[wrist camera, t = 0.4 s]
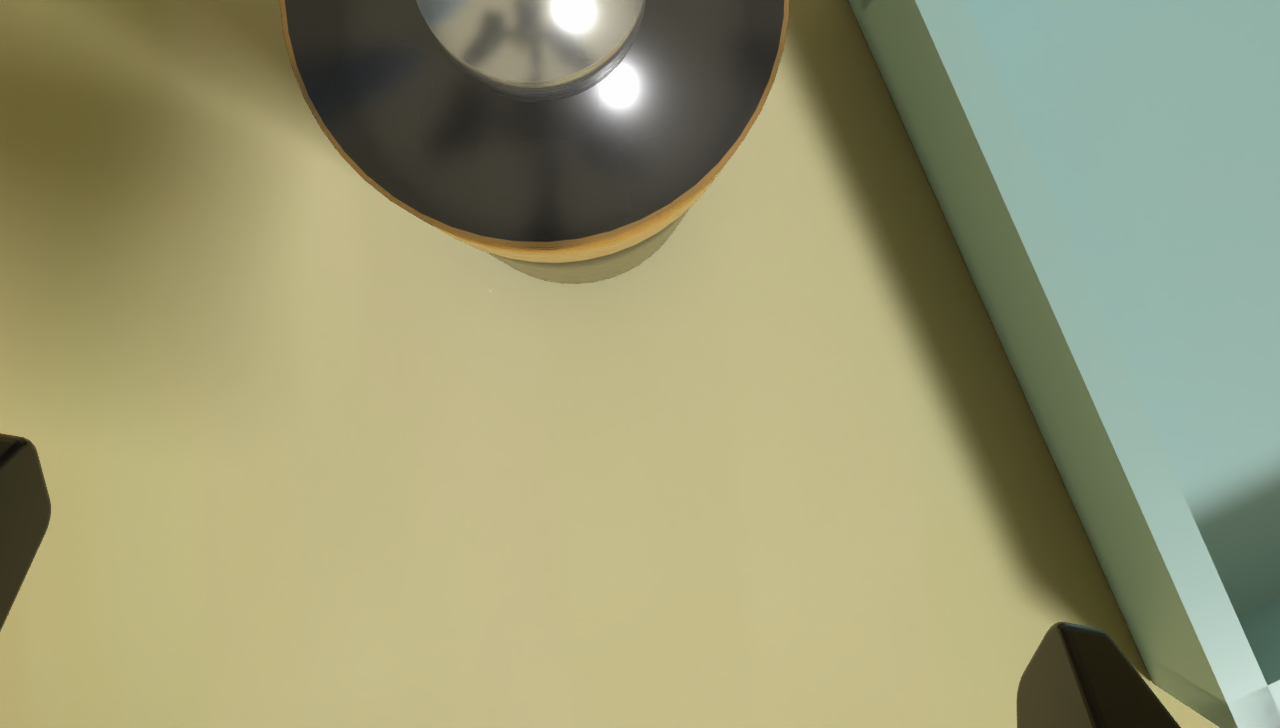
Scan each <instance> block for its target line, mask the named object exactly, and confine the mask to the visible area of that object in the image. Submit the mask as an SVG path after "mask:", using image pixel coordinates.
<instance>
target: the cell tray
mask: <svg viewBox="0 0 1280 728" xmlns="http://www.w3.org/2000/svg"><path fill="white" fill-rule="evenodd" d="M848 2H849V4H850V6H851V9H852V11H853V13H854V15H855V18H856V20H857V22H858V24H859V26H860V29H861V31H862V33H863V35H864V38H865V40H866V42H867V44H868V47H869V49H870V51H871V53H872V56H873V58H874V60H875V62H876V65H877V67H878V69H879V71H880V73H881V76H882V78H883V80H884V82H885V85H886V87H887V89H888V91H889V94H890V96H891V98H892V100H893V103H894V105H895V107H896V109H897V112H898V114H899V116H900V118H901V120H902V123H903V125H904V127H905V129H906V132H907V134H908V136H909V138H910V141H911V143H912V145H913V147H914V150H915V152H916V154H917V156H918V159H919V161H920V163H921V165H922V167H923V170H924V172H925V174H926V176H927V179H928V181H929V183H930V185H931V188H932V190H933V192H934V194H935V197H936V199H937V201H938V203H939V206H940V208H941V210H942V212H943V215H944V217H945V219H946V221H947V223H948V226H949V228H950V230H951V232H952V235H953V237H954V239H955V241H956V244H957V246H958V248H959V250H960V253H961V255H962V257H963V259H964V262H965V264H966V266H967V268H968V270H969V273H970V275H971V277H972V279H973V282H974V284H975V286H976V288H977V291H978V293H979V295H980V297H981V300H982V302H983V304H984V306H985V309H986V311H987V313H988V315H989V317H990V320H991V322H992V324H993V326H994V329H995V331H996V333H997V335H998V338H999V340H1000V342H1001V344H1002V347H1003V349H1004V351H1005V353H1006V356H1007V358H1008V360H1009V362H1010V364H1011V367H1012V369H1013V371H1014V373H1015V376H1016V378H1017V380H1018V382H1019V385H1020V387H1021V389H1022V391H1023V394H1024V396H1025V398H1026V400H1027V403H1028V405H1029V407H1030V409H1031V411H1032V414H1033V416H1034V418H1035V420H1036V423H1037V425H1038V427H1039V429H1040V432H1041V434H1042V436H1043V438H1044V441H1045V443H1046V445H1047V447H1048V450H1049V452H1050V454H1051V456H1052V459H1053V461H1054V463H1055V465H1056V467H1057V470H1058V472H1059V474H1060V476H1061V479H1062V481H1063V483H1064V485H1065V488H1066V490H1067V492H1068V494H1069V497H1070V499H1071V501H1072V503H1073V506H1074V508H1075V510H1076V512H1077V514H1078V517H1079V519H1080V521H1081V523H1082V526H1083V528H1084V530H1085V532H1086V535H1087V537H1088V539H1089V541H1090V544H1091V546H1092V548H1093V550H1094V553H1095V555H1096V557H1097V559H1098V561H1099V564H1100V566H1101V568H1102V570H1103V573H1104V575H1105V577H1106V579H1107V582H1108V584H1109V586H1110V588H1111V591H1112V593H1113V595H1114V597H1115V600H1116V602H1117V604H1118V606H1119V608H1120V611H1121V613H1122V615H1123V617H1124V620H1125V622H1126V624H1127V626H1128V629H1129V631H1130V633H1131V635H1132V638H1133V640H1134V642H1135V644H1136V647H1137V649H1138V651H1139V653H1140V655H1141V658H1142V660H1143V662H1144V664H1145V667H1146V669H1147V671H1148V673H1149V676H1150V678H1151V680H1152V682H1153V684H1155V685H1156V686H1158V687H1159V688H1161V689H1162V690H1164V691H1165V692H1167V693H1169V694H1170V695H1172V696H1173V697H1175V698H1176V699H1178V700H1179V701H1181V702H1182V703H1184V704H1185V705H1187V706H1188V707H1190V708H1191V709H1193V710H1194V711H1196V712H1197V713H1199V714H1200V715H1202V716H1203V717H1205V718H1206V719H1208V720H1209V721H1211V722H1213V723H1214V724H1216V725H1217V726H1219V727H1220V728H1280V0H848Z"/></svg>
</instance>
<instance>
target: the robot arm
mask: <svg viewBox="0 0 1280 728" xmlns="http://www.w3.org/2000/svg"><path fill="white" fill-rule="evenodd" d="M50 515H51V503H50V498H49V494H48V490H47V487H46V483H45V479H44V475H43V472H42V468H41V464H40V461H39V457H38V453H37V450H36V448H35V446H34V445H33V444H32V442H31V441H30V440H28V439H26V438H23V437H18V436H12V435H6V434H1V433H0V631H1V629H2V627H3V625H4V622H5V620H6V618H7V616H8V614H9V611H10V609H11V607H12V605H13V603H14V601H15V598H16V596H17V594H18V592H19V590H20V587H21V585H22V583H23V581H24V579H25V576H26V574H27V572H28V570H29V568H30V566H31V563H32V561H33V559H34V557H35V555H36V552H37V550H38V548H39V546H40V544H41V542H42V539H43V537H44V535H45V533H46V530H47V528H48V524H49V521H50ZM1017 728H1181V727H1180V726H1179V725H1178V724H1177V722H1176V721H1175V720H1174V718H1173V717H1172V716H1171V715H1170V713H1169V712H1168V711H1167V709H1166V708H1165V707H1164V706H1163V704H1162V703H1161V702H1160V700H1159V699H1158V698H1157V697H1156V695H1155V694H1154V693H1153V692H1152V690H1151V689H1150V688H1149V686H1148V685H1147V684H1146V683H1145V681H1144V680H1143V679H1142V677H1141V676H1140V675H1139V674H1138V672H1137V671H1136V670H1135V668H1134V667H1133V666H1132V665H1131V663H1130V662H1129V661H1128V659H1127V658H1126V657H1125V656H1124V654H1123V653H1122V652H1121V650H1120V649H1119V648H1118V647H1117V645H1116V644H1115V643H1114V641H1113V640H1112V639H1111V638H1110V637H1109V636H1108V635H1107V634H1106V633H1105V632H1104V631H1102V630H1100V629H1097V628H1094V627H1088V626H1082V625H1077V624H1071V623H1066V622H1058V623H1056V624H1054V625H1053V626H1051V627H1050V629H1049V630H1048V631H1047V633H1046V635H1045V636H1044V638H1043V640H1042V642H1041V643H1040V645H1039V647H1038V649H1037V650H1036V652H1035V654H1034V655H1033V657H1032V659H1031V661H1030V662H1029V664H1028V666H1027V668H1026V669H1025V671H1024V673H1023V675H1022V677H1021V680H1020V683H1019V687H1018V692H1017Z"/></svg>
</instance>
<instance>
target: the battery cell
mask: <svg viewBox="0 0 1280 728" xmlns="http://www.w3.org/2000/svg"><path fill="white" fill-rule="evenodd" d="M280 8H281V16H282V25H283V33H284V38H285V42H286V46H287V50H288V54H289V58H290V62H291V66H292V68H293V71H294V74H295V76H296V79H297V81H298V84H299V86H300V89H301V91H302V94H303V96H304V99H305V100H306V102H307V104H308V106H309V108H310V110H311V111H312V113H313V115H314V117H315V119H316V120H317V122H318V124H319V126H320V128H321V129H322V130H323V132H324V133H325V134H326V136H327V137H328V139H329V140H330V141H331V143H332V144H333V145H334V147H335V148H336V149H337V151H338V152H339V154H340V155H341V156H342V157H343V158H344V159H345V160H346V161H347V162H348V163H349V164H350V165H351V166H352V167H353V168H354V170H355V171H356V172H357V173H358V174H359V175H360V176H361V177H362V178H363V179H364V180H365V181H367V182H368V183H369V184H370V185H372V186H373V187H374V188H375V189H377V190H378V191H379V192H380V193H382V194H383V195H384V196H385V197H386V198H388V199H389V200H390V201H392V202H394V203H395V204H397V205H398V206H400V207H402V208H403V209H405V210H407V211H408V212H410V213H412V214H413V215H415V216H416V217H418V218H420V219H422V220H423V221H425V222H427V223H429V224H431V225H432V226H434V227H436V228H438V229H439V230H441V231H443V232H445V233H447V234H448V235H450V236H452V237H454V238H456V239H457V240H459V241H462V242H464V243H466V244H468V245H471V246H473V247H475V248H477V249H480V250H482V251H485V252H487V253H489V254H491V255H492V256H494V257H496V258H497V259H499V260H501V261H502V262H504V263H506V264H508V265H509V266H511V267H513V268H514V269H516V270H518V271H520V272H523V273H525V274H527V275H529V276H532V277H535V278H539V279H542V280H545V281H550V282H557V283H567V284H581V283H591V282H597V281H601V280H605V279H609V278H612V277H614V276H617V275H620V274H622V273H625V272H627V271H628V270H630V269H632V268H634V267H636V266H638V265H639V264H641V263H642V262H643V261H645V260H646V259H647V258H649V257H650V256H651V255H652V254H654V253H655V252H656V251H657V250H658V249H659V248H660V247H661V246H662V245H663V244H664V243H665V241H666V240H667V239H668V238H669V236H670V235H671V234H672V233H673V231H674V230H675V228H676V227H677V225H678V224H679V223H680V221H681V220H682V218H683V217H684V216H685V214H686V213H687V211H688V210H689V208H690V207H691V206H692V205H693V204H694V203H695V202H696V201H697V200H698V199H699V198H700V197H701V195H702V194H703V193H704V192H705V191H706V189H707V188H708V187H709V186H710V184H711V183H712V182H713V181H714V179H715V178H716V177H717V175H718V174H719V173H720V171H721V170H722V169H723V167H724V166H725V165H726V163H727V162H728V160H729V159H730V158H731V156H732V155H733V154H734V152H735V151H736V150H737V148H738V147H739V145H740V144H741V143H742V141H743V140H744V138H745V137H746V135H747V133H748V132H749V130H750V128H751V127H752V125H753V124H754V122H755V120H756V119H757V117H758V115H759V114H760V112H761V110H762V108H763V105H764V103H765V101H766V99H767V96H768V94H769V92H770V90H771V87H772V85H773V83H774V80H775V76H776V73H777V70H778V66H779V63H780V60H781V56H782V53H783V49H784V43H785V37H786V30H787V24H788V18H789V0H280Z"/></svg>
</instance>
